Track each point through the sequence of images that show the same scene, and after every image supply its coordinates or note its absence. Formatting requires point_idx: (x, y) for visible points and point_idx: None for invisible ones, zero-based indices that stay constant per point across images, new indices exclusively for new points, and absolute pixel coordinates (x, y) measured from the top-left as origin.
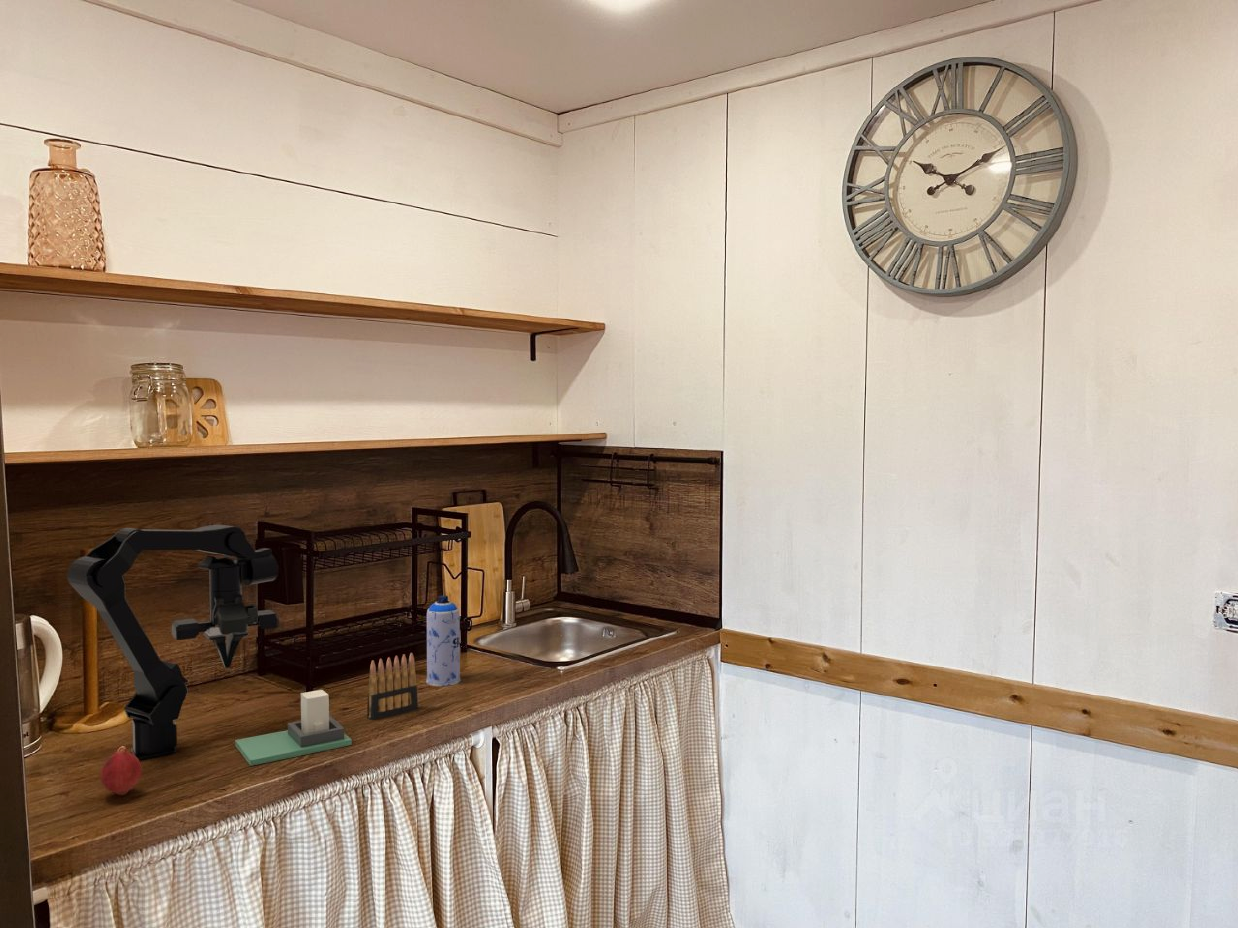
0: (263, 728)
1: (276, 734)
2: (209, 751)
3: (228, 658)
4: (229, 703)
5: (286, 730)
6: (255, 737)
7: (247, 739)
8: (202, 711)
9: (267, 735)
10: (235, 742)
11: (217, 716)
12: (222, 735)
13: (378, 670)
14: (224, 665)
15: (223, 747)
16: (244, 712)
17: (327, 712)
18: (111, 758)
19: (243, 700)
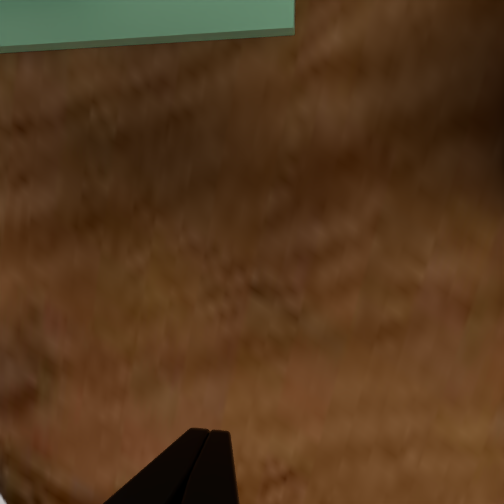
0: (163, 185)
1: (130, 4)
2: (403, 14)
3: (170, 495)
4: None
5: (88, 37)
6: (212, 14)
7: (246, 4)
8: (308, 481)
9: (164, 14)
10: (294, 21)
11: (277, 406)
12: (309, 193)
13: None
14: (232, 454)
15: (341, 36)
16: (191, 392)
17: None
18: None
19: None
